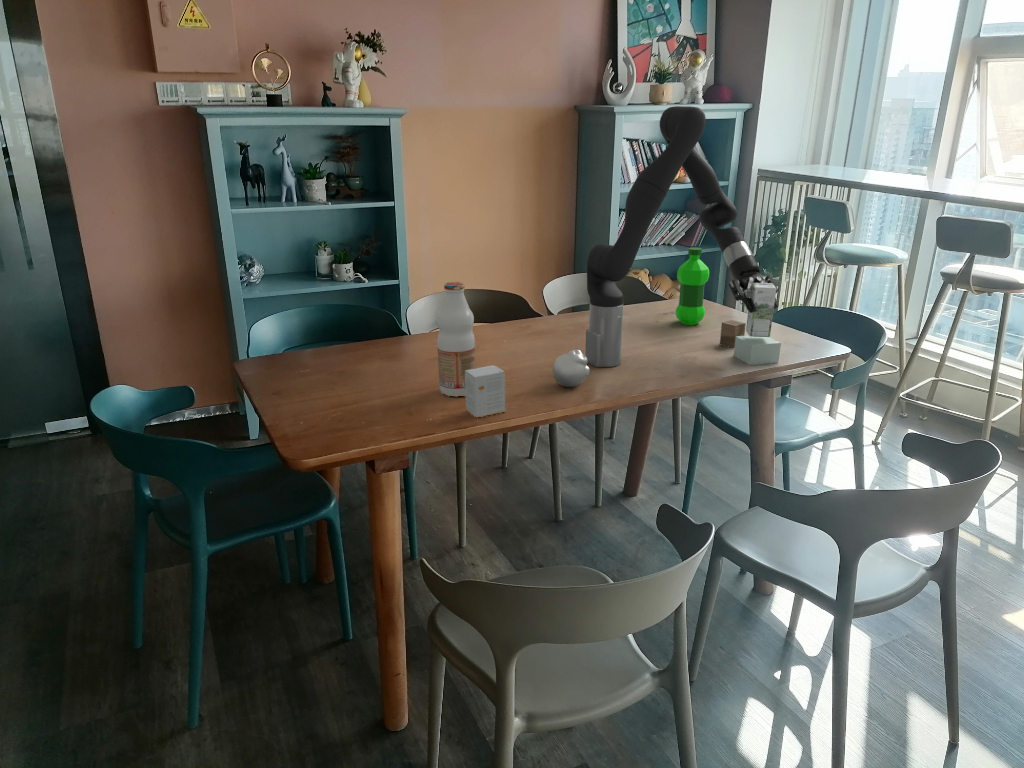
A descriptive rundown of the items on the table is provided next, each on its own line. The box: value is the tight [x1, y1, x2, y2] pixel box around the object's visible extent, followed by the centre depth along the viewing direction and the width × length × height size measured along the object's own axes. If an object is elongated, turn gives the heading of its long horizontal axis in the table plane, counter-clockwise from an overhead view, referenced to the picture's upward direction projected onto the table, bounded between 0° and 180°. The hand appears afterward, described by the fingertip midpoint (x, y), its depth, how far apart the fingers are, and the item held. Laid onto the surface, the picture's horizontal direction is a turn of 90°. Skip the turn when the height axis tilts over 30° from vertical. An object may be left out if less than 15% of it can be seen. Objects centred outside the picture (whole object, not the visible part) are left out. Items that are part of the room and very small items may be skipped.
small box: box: [465, 364, 506, 417], centre depth 176 cm, size 8×6×10 cm
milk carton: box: [745, 283, 777, 338], centre depth 210 cm, size 6×6×14 cm
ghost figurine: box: [552, 348, 591, 388], centre depth 193 cm, size 9×10×10 cm
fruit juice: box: [436, 281, 477, 395], centre depth 187 cm, size 9×9×28 cm
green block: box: [733, 334, 782, 366], centre depth 214 cm, size 9×9×6 cm
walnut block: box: [719, 319, 747, 349], centre depth 227 cm, size 5×5×7 cm
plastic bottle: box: [674, 247, 710, 326], centre depth 248 cm, size 10×10×25 cm
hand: (764, 309), depth 209 cm, fingers closed on milk carton, 7 cm apart
